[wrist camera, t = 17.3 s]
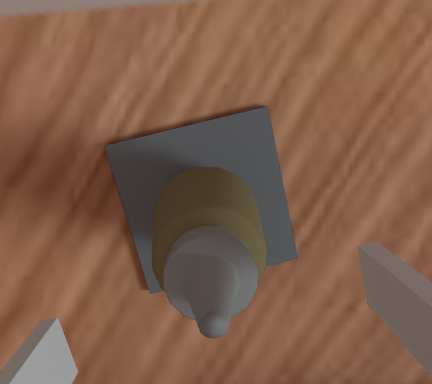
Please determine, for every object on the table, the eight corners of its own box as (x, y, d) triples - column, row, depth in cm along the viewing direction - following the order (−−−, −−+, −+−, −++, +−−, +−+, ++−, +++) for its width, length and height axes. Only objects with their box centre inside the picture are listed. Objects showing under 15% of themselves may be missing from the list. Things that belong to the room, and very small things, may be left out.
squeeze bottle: (151, 238, 32) (90, 395, 14) (170, 149, 30) (127, 202, 12) (239, 256, 32) (285, 427, 15) (262, 171, 31) (344, 249, 13)
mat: (266, 106, 30) (267, 106, 30) (296, 255, 33) (297, 258, 33) (106, 145, 30) (104, 145, 30) (151, 290, 33) (150, 293, 33)
